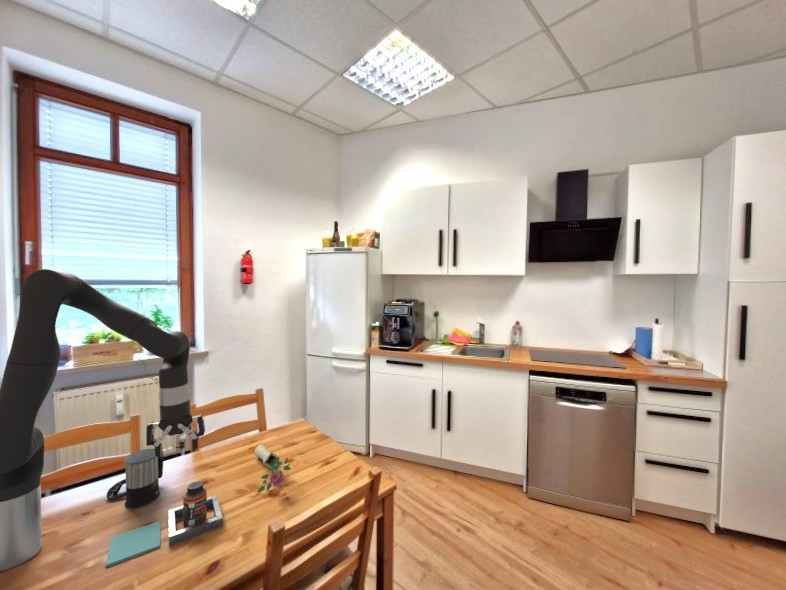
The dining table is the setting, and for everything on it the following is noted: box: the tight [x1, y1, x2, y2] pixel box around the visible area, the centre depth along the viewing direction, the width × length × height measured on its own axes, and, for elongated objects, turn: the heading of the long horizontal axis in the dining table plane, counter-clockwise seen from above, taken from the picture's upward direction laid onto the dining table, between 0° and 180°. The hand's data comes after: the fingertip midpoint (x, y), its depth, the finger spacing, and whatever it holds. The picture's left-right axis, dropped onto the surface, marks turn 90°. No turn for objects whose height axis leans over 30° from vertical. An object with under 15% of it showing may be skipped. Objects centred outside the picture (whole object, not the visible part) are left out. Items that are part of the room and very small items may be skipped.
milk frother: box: [106, 448, 164, 509], centre depth 107 cm, size 14×16×15 cm
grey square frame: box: [167, 494, 224, 547], centre depth 96 cm, size 13×13×2 cm
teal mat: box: [105, 520, 161, 568], centre depth 88 cm, size 11×11×1 cm
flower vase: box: [253, 444, 292, 493], centre depth 119 cm, size 12×12×35 cm
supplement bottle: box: [182, 480, 208, 528], centre depth 96 cm, size 6×6×11 cm
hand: (177, 453), depth 96 cm, fingers open, 8 cm apart
